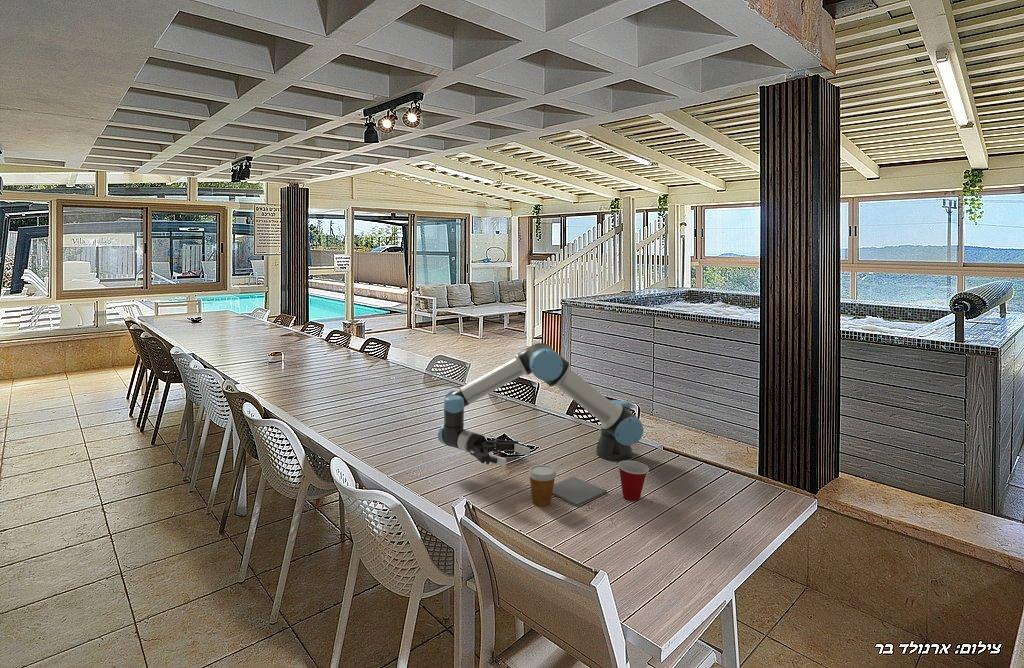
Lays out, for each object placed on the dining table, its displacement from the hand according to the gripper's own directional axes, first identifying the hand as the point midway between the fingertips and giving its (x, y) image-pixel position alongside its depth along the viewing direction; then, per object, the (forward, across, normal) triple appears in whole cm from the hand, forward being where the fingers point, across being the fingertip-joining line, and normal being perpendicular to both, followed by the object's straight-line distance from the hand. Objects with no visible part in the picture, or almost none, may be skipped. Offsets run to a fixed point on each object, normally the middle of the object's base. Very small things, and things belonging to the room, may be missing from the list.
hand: (517, 457), depth 200 cm
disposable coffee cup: (+10, -1, -14) cm, 18 cm away
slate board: (+15, -15, -14) cm, 25 cm away
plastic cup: (+33, -24, -14) cm, 43 cm away
